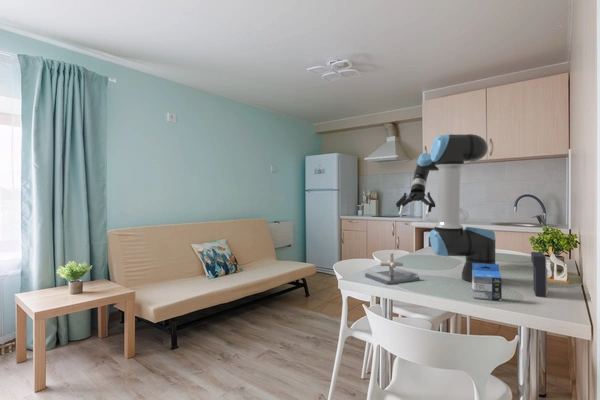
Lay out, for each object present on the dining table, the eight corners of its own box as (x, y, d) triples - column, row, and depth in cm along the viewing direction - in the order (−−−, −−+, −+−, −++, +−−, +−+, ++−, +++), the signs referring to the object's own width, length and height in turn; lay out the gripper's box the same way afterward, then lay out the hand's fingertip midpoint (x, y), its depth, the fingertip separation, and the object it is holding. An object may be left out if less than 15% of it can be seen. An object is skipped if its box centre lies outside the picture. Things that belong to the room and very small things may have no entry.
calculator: (548, 297, 118) (547, 256, 118) (533, 296, 120) (533, 255, 120) (545, 290, 127) (544, 252, 127) (531, 289, 129) (531, 251, 130)
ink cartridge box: (473, 298, 117) (473, 264, 117) (472, 295, 121) (471, 262, 121) (502, 301, 114) (501, 266, 114) (499, 298, 118) (499, 264, 118)
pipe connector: (400, 272, 154) (399, 251, 154) (405, 277, 144) (405, 255, 144) (378, 272, 155) (378, 251, 155) (382, 277, 145) (382, 255, 145)
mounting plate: (419, 280, 145) (419, 273, 145) (386, 284, 138) (386, 277, 138) (395, 272, 160) (395, 266, 160) (364, 276, 153) (364, 270, 153)
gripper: (442, 192, 181) (439, 220, 168) (397, 193, 193) (390, 219, 180) (441, 182, 176) (438, 210, 163) (394, 184, 189) (388, 210, 176)
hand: (413, 215), depth 171 cm, fingers open, 13 cm apart
